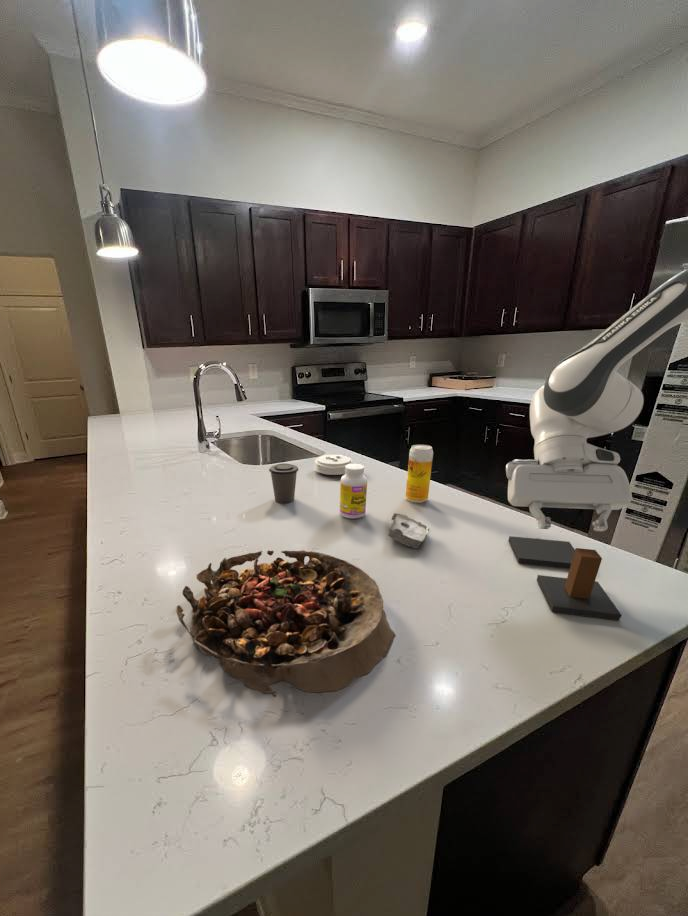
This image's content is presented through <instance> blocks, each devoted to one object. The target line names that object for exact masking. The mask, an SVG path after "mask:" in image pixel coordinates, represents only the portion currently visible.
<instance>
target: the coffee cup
mask: <svg viewBox="0 0 688 916" xmlns="http://www.w3.org/2000/svg"><path fill="white" fill-rule="evenodd" d="M268 471H269V473H270V475H271V483H272V489H273V494H274V501H275V502H276V503H280V504H289V503H292V502H294V501H295V493H296V483H297V474H298V471H299V467H298V466H297V465H296V464H291V463H278V464H273V465H271V466H270V467H269V468H268Z"/></svg>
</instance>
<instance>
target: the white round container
mask: <svg viewBox="0 0 688 916" xmlns="http://www.w3.org/2000/svg"><path fill="white" fill-rule="evenodd" d="M314 464H315V466H314V470H315V471H316V472H317V473H320V474H323V475H328V476H329V475H331V476H333V475H334V476H337V475H339V476H340V475H345V474H346V472H345V466H346V465H348V464H354V460H353V459H351V458H350V457H349V456H347V455H343V454H325V455H321V456H318V457H317V458H316V459H315V460H314Z"/></svg>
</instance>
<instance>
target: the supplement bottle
mask: <svg viewBox="0 0 688 916" xmlns="http://www.w3.org/2000/svg"><path fill="white" fill-rule="evenodd" d="M345 472H346V474H342V476H341V478H340V487H339V492H340V493H339V515H340V516H342V517H344V518H347V519H352V520H353V519H355V520H356V519H360V518H362V517H364V516H365V514H366V507H367V492H368V478H367V477H366V475H364V472H365V466H364V464H363V465H362V464H360V463H353V464H348V465H346V466H345Z"/></svg>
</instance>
